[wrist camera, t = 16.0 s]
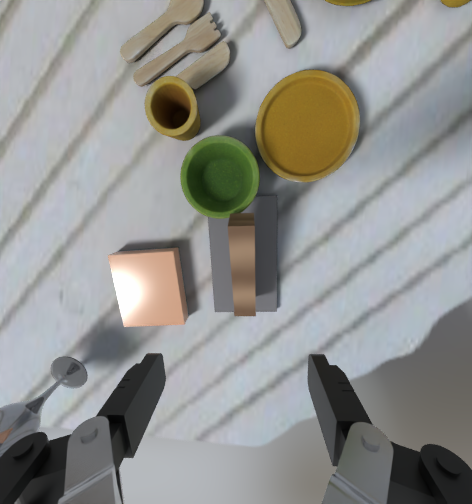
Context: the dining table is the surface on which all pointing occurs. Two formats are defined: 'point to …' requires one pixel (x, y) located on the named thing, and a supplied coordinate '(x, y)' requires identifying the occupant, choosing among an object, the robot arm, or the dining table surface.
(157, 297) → the terracotta tile
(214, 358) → the dining table surface
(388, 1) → the dining table surface
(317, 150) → the tableware set
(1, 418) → the wine glass
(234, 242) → the walnut stick
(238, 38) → the dining table surface
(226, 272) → the rubber mat
